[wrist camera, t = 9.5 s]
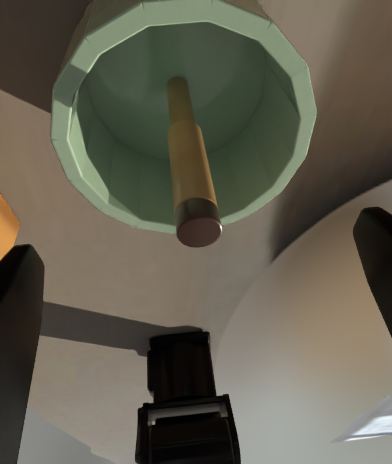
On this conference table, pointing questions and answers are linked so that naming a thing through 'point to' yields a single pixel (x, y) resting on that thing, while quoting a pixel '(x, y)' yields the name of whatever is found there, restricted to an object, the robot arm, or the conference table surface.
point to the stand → (7, 227)
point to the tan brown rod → (190, 172)
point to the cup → (157, 112)
